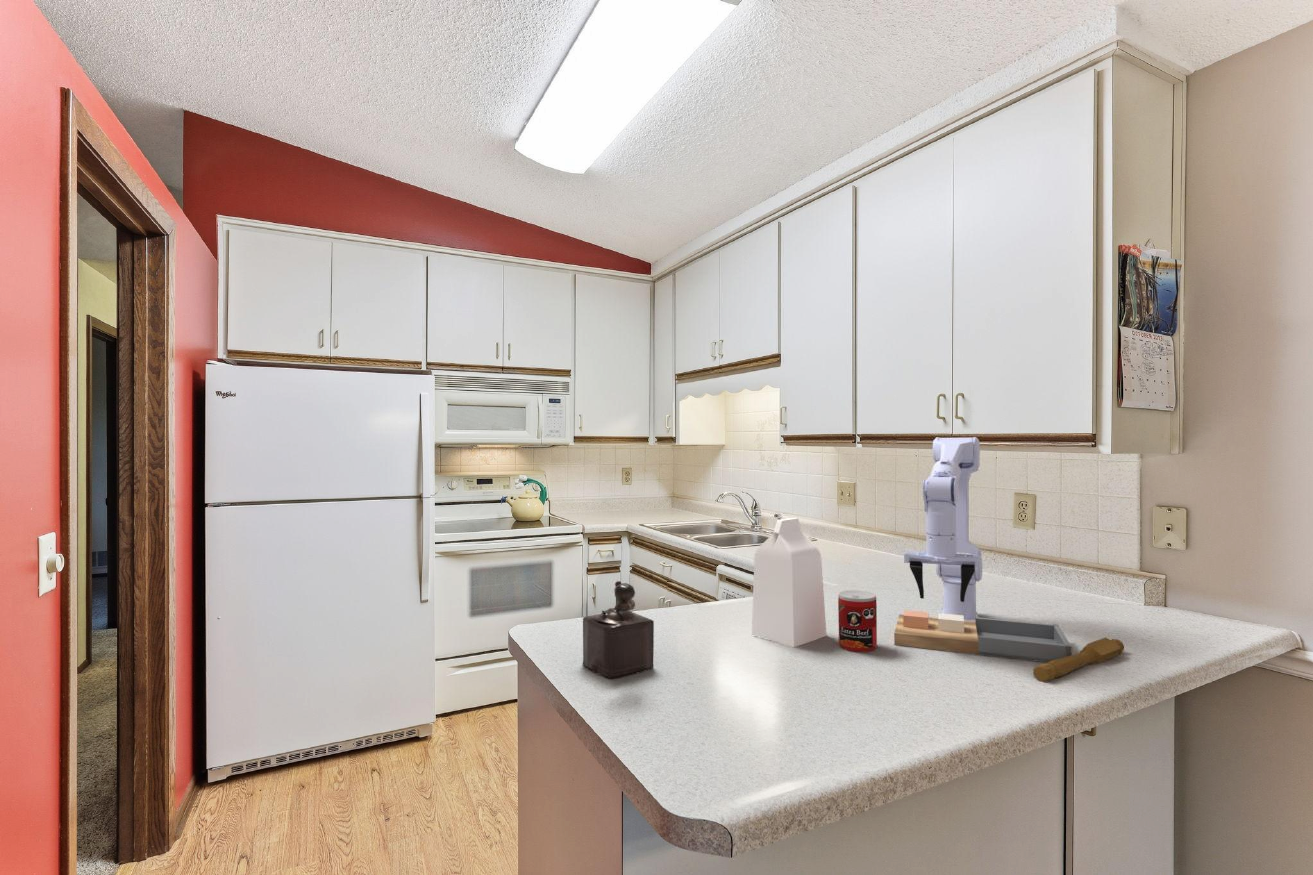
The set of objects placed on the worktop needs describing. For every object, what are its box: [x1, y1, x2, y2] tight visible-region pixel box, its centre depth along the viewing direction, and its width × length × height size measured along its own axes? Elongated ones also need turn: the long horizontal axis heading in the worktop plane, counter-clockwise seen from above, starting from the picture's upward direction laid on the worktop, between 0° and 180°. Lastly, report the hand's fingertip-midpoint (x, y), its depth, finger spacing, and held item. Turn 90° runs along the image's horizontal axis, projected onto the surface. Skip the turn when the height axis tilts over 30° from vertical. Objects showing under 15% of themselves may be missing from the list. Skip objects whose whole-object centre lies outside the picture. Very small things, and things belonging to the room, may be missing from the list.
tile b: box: [937, 612, 964, 633], centre depth 139 cm, size 5×5×2 cm
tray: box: [975, 616, 1073, 663], centre depth 134 cm, size 16×16×4 cm
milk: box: [751, 517, 828, 648], centre depth 144 cm, size 12×12×26 cm
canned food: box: [837, 589, 878, 653], centre depth 136 cm, size 8×8×11 cm
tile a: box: [902, 609, 930, 629], centre depth 142 cm, size 5×5×2 cm
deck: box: [893, 614, 979, 655], centre depth 140 cm, size 16×16×2 cm
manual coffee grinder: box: [582, 580, 655, 679], centre depth 123 cm, size 16×11×18 cm
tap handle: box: [1032, 636, 1125, 683], centre depth 123 cm, size 3×3×30 cm
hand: (941, 599), depth 134 cm, fingers open, 7 cm apart
